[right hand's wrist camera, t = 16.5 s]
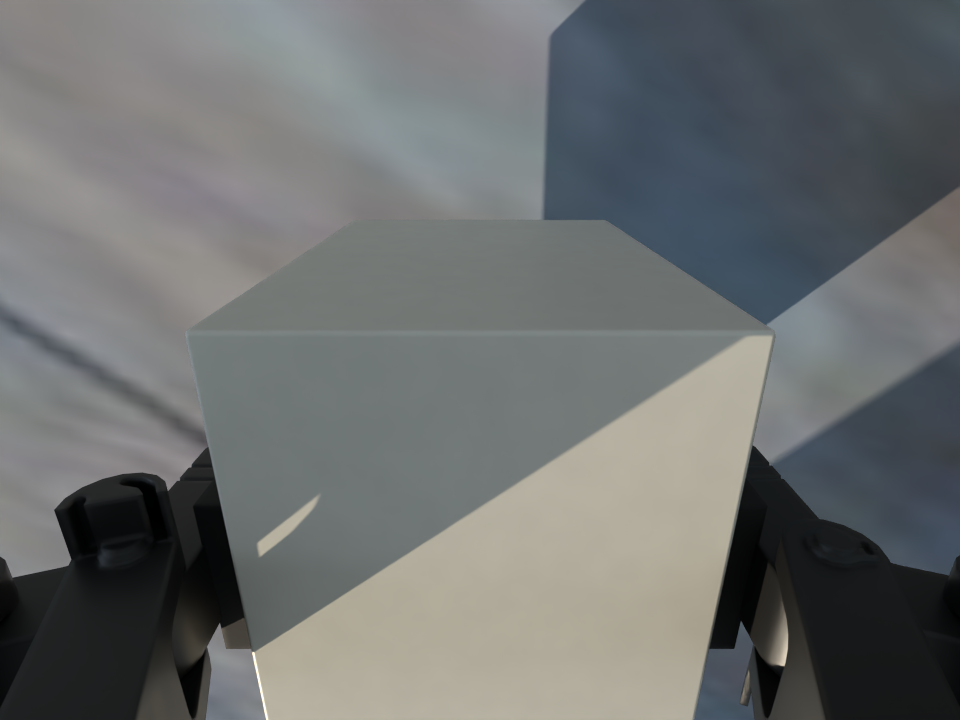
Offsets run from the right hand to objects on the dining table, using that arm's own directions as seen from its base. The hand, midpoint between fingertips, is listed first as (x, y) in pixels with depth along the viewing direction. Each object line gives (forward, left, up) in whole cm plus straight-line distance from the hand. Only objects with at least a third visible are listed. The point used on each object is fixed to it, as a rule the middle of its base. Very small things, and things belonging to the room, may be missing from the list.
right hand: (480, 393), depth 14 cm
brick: (0, 0, -2) cm, 2 cm away
